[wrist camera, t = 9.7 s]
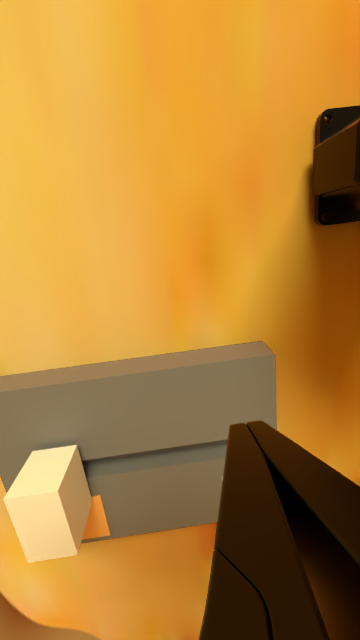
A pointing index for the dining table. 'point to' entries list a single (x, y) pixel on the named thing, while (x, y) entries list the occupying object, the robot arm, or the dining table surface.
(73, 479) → the fader
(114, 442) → the console
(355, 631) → the robot arm
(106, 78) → the dining table surface
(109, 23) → the dining table surface
